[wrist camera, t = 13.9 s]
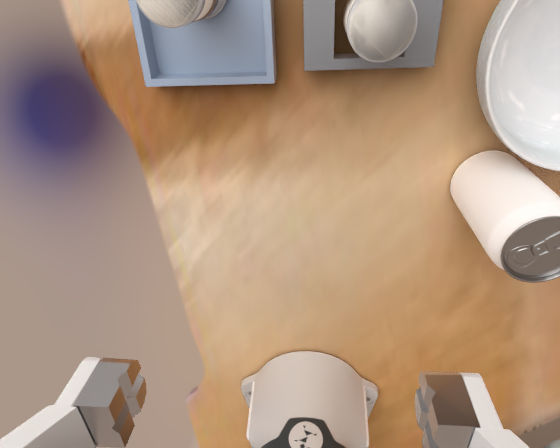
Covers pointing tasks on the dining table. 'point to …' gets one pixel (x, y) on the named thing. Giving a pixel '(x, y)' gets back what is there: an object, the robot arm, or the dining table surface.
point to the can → (510, 214)
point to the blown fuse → (179, 11)
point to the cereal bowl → (523, 79)
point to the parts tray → (210, 47)
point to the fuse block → (372, 34)
